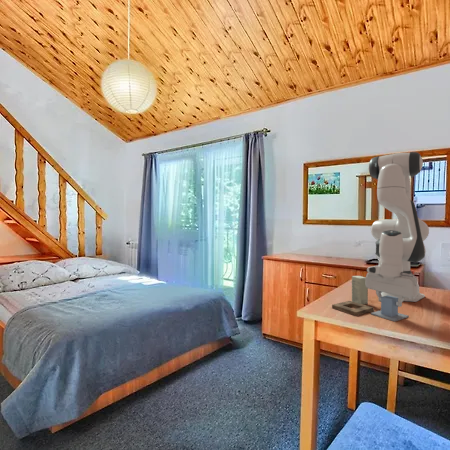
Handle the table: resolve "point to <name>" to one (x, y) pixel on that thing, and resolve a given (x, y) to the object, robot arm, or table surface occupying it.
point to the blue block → (389, 306)
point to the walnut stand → (345, 308)
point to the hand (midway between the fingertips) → (389, 303)
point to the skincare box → (359, 290)
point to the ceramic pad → (394, 318)
